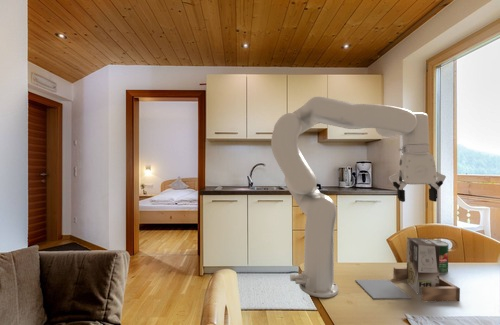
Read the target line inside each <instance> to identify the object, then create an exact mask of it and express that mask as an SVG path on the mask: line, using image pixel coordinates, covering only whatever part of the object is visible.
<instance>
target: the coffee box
mask: <svg viewBox="0 0 500 325" xmlns="http://www.w3.org/2000/svg"><path fill="white" fill-rule="evenodd" d="M439 256H440V246H438V245H437V244H435V243H433V242H431V241H430V240H428V238H426V237H425V238H424V237H408V236H407V237H406V267H407V280H406V283H407V284H408V286H410V288H412V290H414V291H415V293H416V294H417V295H420V296H422V287H439V277H440V274H439Z"/></svg>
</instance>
